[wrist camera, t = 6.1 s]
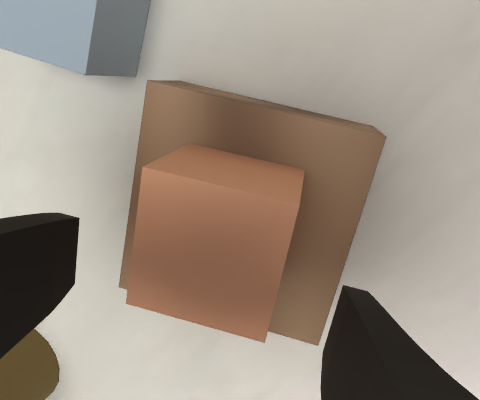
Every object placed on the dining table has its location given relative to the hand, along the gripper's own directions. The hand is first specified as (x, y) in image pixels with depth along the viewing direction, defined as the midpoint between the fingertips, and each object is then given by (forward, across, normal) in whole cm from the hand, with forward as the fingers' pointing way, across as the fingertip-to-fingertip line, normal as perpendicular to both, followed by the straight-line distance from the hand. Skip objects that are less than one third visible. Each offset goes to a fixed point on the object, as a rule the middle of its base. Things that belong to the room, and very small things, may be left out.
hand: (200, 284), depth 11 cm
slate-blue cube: (+10, +8, -7) cm, 14 cm away
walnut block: (+10, 0, 0) cm, 10 cm away
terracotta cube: (+6, 0, 0) cm, 6 cm away
